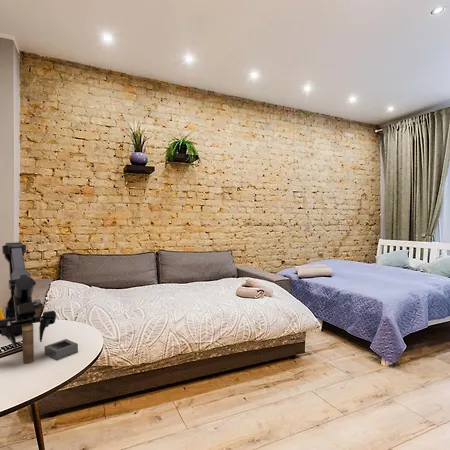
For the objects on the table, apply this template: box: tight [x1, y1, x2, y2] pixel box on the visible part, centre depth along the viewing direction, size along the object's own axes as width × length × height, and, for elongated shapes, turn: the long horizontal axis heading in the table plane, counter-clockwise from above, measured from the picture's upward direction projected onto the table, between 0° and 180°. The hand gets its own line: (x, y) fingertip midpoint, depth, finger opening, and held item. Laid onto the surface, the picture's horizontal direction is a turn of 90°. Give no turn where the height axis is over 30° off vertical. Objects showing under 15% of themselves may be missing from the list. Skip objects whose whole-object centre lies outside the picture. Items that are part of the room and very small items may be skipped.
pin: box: [21, 323, 35, 365], centre depth 109 cm, size 3×3×13 cm
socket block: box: [44, 338, 79, 361], centre depth 116 cm, size 8×8×3 cm
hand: (28, 344), depth 108 cm, fingers open, 7 cm apart
